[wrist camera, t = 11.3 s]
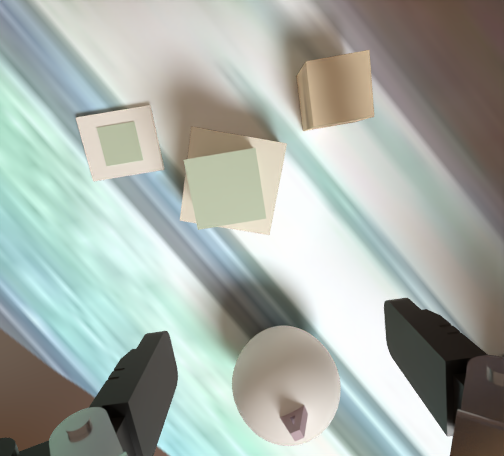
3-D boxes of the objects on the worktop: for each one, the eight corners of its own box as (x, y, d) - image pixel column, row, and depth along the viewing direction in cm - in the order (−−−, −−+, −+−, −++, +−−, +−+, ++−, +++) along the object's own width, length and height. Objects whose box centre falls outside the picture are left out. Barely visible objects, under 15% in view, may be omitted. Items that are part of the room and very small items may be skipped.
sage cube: (253, 148, 26) (255, 147, 22) (262, 206, 28) (266, 218, 23) (194, 158, 26) (183, 159, 22) (206, 216, 28) (197, 229, 23)
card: (150, 106, 30) (148, 105, 29) (164, 169, 31) (163, 169, 31) (78, 118, 30) (75, 117, 29) (95, 180, 31) (92, 181, 31)
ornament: (276, 291, 35) (291, 362, 23) (342, 345, 36) (388, 436, 25) (217, 354, 36) (203, 450, 25) (283, 402, 38) (299, 513, 26)
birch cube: (349, 66, 30) (369, 49, 25) (354, 122, 31) (374, 116, 26) (296, 76, 30) (305, 61, 25) (303, 131, 31) (313, 127, 26)
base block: (280, 144, 31) (286, 143, 26) (265, 222, 33) (269, 234, 28) (200, 130, 31) (191, 126, 26) (189, 210, 33) (179, 220, 28)
